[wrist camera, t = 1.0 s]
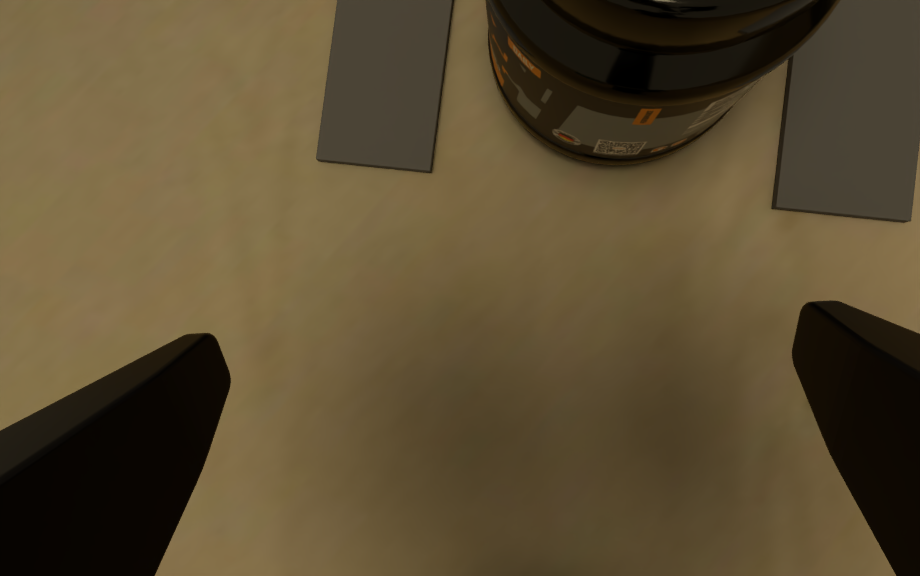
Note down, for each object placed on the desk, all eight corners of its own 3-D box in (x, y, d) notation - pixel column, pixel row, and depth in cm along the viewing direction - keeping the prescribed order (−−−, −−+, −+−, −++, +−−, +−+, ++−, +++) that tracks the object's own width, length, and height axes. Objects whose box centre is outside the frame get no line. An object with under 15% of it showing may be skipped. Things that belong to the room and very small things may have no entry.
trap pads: (904, 222, 23) (910, 220, 22) (319, 161, 25) (315, 158, 25) (933, -51, 23) (941, -57, 23) (351, -85, 26) (349, -91, 25)
